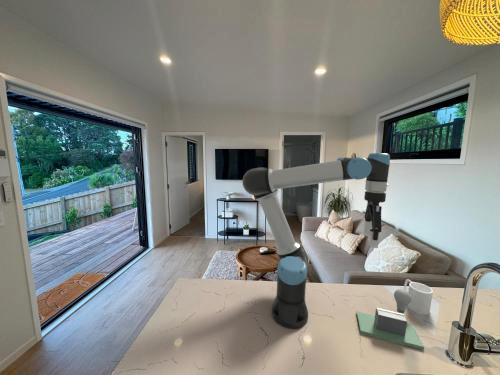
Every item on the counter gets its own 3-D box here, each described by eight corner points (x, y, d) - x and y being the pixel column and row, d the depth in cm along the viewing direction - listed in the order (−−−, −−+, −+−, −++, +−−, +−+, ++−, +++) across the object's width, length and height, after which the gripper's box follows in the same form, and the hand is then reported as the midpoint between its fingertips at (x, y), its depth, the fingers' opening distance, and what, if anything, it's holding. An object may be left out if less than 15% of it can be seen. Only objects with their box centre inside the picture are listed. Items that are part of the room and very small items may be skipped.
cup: (410, 296, 104) (412, 277, 103) (434, 313, 93) (438, 292, 91) (395, 297, 103) (398, 278, 102) (418, 315, 91) (421, 294, 90)
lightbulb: (411, 320, 88) (415, 295, 87) (395, 317, 90) (398, 293, 88) (404, 310, 94) (407, 287, 93) (389, 307, 96) (392, 285, 94)
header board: (360, 333, 81) (361, 322, 80) (356, 313, 91) (357, 303, 91) (423, 350, 75) (425, 338, 74) (411, 326, 85) (413, 316, 84)
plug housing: (376, 329, 82) (378, 314, 81) (374, 321, 86) (376, 306, 85) (404, 336, 79) (407, 320, 78) (401, 328, 83) (403, 313, 82)
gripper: (395, 197, 74) (388, 254, 77) (378, 188, 97) (373, 232, 100) (371, 195, 76) (365, 251, 79) (360, 187, 100) (356, 230, 103)
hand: (370, 241), depth 90 cm, fingers open, 13 cm apart
